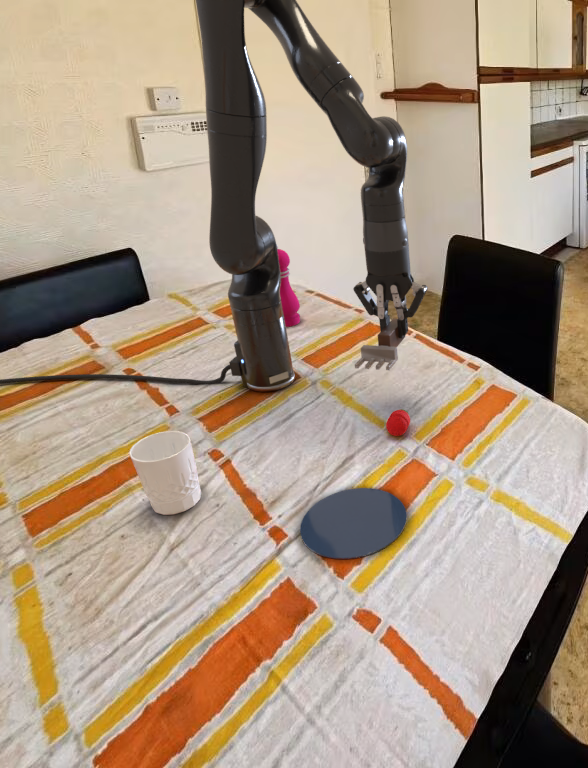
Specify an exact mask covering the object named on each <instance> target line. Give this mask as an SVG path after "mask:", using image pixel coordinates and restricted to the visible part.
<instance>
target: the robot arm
mask: <svg viewBox="0 0 588 768" xmlns="http://www.w3.org/2000/svg"><path fill="white" fill-rule="evenodd" d="M195 6H196V12H197V17H198V26H199V31H200V39H201V40H200V41H201V52H202V63H203V64H202V65H203V75H204V77H203V78H204V90H205V91H204V92H205V93H204V94H205V118H206V120H205V121H206V133H207V134H206V135H207V143H208V162H209V176H210V189H211V191H210V193H211V195H210V198H211V199H210V219H209V234H208V235H209V236H208V237H209V238H208V239H209V249H210V253H211V256H212V258H213V260H214V262H215V263H216V265H218V267H219V268H220V269H221V270H223V271H224V272H225V273H227V274H230V275H232V277H231V282H230V285H229V287H228V290H227V297H228V302H229V307H230V312H231V316H232V321H233V325H234V329H235V334H236V339H237V340H236V341H235V342H234V343H233V348H234V351H235V357H234V358H232V359H231V360H230V361H229V362H228V365H226V366H224V368H223V369H222V370H221V372H220V376H219V377H218V378H216V379H211V380H199V379H193V378H192V379H191V378H175V377H174V378H173V377H162V376H152V375H151V376H150V375H137V374H136V375H135V374H134V375H133V374H106V373H103V374H102V373H99V374H98V373H93V374H91V373H89V374H88V373H87V374H86V373H85V374H83V373H82V374H59V375H58V374H57V375H56V374H55V375H39V376H26V377H25V376H24V377H14V378H1V379H0V385H4V384H16V383H27V382H41V381H43V382H45V381H57V380H59V381H61V380H93V379H95V380H103V379H104V380H128V381H129V380H130V381H131V380H132V381H146V382H147V381H148V382H160V383H169V384H170V383H171V384H187V385H188V384H190V385H196V386H197V385H198V386H199V385H201V386H202V385H203V386H204V385H217V384H220V383H221V382H223V381H224V380H225V379H226V376H227V372H229V371H230V372H231V376H233V377H240V379H241V383H242V386H243V387H245V388H248V389H249V390H251V391H254V392H260V393H261V392H262V393H263V392H265V393H267V392H274V391H275V392H276V391H279V390H282V389H285V388H286V387H288V386H290V385H291V384H293V383H294V381H295V379H296V375H295V371H294V365H293V360H292V355H291V349H290V343H289V337H288V332H287V327H286V325H285V320H284V314H283V309H282V303H281V297H280V285H281V274H280V266H279V258H278V251H277V245H278V244H277V240H276V237H275V234H274V232H273V230H272V228H271V226H270V225H269V224H268V223H267V222H266V221H265V220H264V219H263V218H262V217H260V216H258V215H256V194H257V189H258V184H259V181H260V177H261V173H262V169H263V166H264V161H265V157H266V153H267V143H268V141H267V140H268V128H267V127H268V122H267V121H268V119H267V118H268V117H267V114H268V113H267V103H266V99H265V95H264V91H263V89H262V86H261V83H260V81H259V78H258V76H257V74H256V71H255V69H254V67H253V64H252V60H251V58H250V56H249V52H248V49H247V43H246V35H245V34H246V33H245V31H246V29H245V9H248V10H249V11H251V12H252V13H253V14H254V15H255V16H256V17H257V18H259V20H261V21H262V23H264V24H265V25H266V27H267V28H268V29H269V30H270V31H271V32H272V34H273V35H274V36H275V38H276V39H277V40H278V43H279V44H280V46H281V48H282V50H283V52H284V55H285V57H286V59H287V62H288V64H289V67H290V69H291V71H292V72H293V74H294V76H295V78H296V79H297V81H298V83H299V84H300V85H301V87H302V88H303V90H305V91H306V93H307V94H308V95H309V96H310V98H311V99H312V100H313V101H314V102H315V104H316V105H317V106H318V108H319V109H320V110H321V111H322V112H323V113H324V114H325V115H326V117H327V118H328V120H329V123H330V125H331V127H332V129H333V131H334V133H335V135H336V137H337V138H338V140H339V142H340V144H341V145H342V147H343V150H344V151H345V152H346V153H347V154H348V155H349V157H350V158H351V159H352V160H353V161H355V162H356V163H357V164H359V165H360V166H362V167H364V168H368V176H367V178H366V180H365V182H363V184H362V185H361V187H360V204H361V213H362V244H363V246H364V256H365V265H366V271H367V274H366V277H365V280H363V281H359V282H358V283H356V284H355V286H353V289H352V290H353V292H354V293H355V295H356V297H357V298H358V299H359V301H360V303H361V304H362V306H363V307H364V309H365V311H366V312H367V314H368V315H369V316H375V317H377V318H378V321H379V330H380V332H381V331H382V330H383V329H384V328H385V327H386V326H387V325H388V324H389V322H390V321H391V315H390V314H389V302H390V301H391V302H393V306H394V309H395V311H396V317H397V319H398V320H397V326H398V334H399V338H404V336H405V337H406V335H408V332H409V321H408V318H413V317H414V316H415V314H416V313H417V312H418V310H419V307H420V305H421V304H422V302H423V299H424V298H425V296H426V293H427V291H428V286H427V285H426V284H422V285H421V284H419V283H418V282H416V281H415V279H414V277H413V275H412V273H411V259H410V246H409V245H410V244H409V233H408V225H407V221H406V211H405V198H404V183H405V178H406V170H407V160H408V143H407V137H406V134H405V131H404V129H403V128H402V125H401V124H400V123H399V122H398V121H397V120H396V119H395V118H393V117H390V116H377V117H372V116H371V114H369V112H368V110H367V109H366V108H365V106H364V105H363V102H364V100H365V99H364V98H365V95H364V91H363V89H362V87H361V85H360V84H359V82H358V81H357V79H355V78H354V76H353V75H352V74H351V73H350V71H349V69H347V68H346V67H345V65H344V63H342V62H341V60H340V59H339V58H338V56H337V55H336V54H335V53H334V52H333V51H332V49H331V48H330V47H329V46H328V44H327V43H326V42H325V41H324V39H323V38H322V37H321V36H320V34H319V33H318V31H317V30H316V28H315V27H314V26H313V23H311V21H310V19H309V18H308V17H307V15H306V13H305V12H304V10H303V9H302V7H301V6H300V4H299V3H298V1H297V0H195ZM276 244H277V245H276ZM370 290H371V291H372V293H373V294H374V295H375V297H376V300H375V299H374V297H373V295H372V294H371V292H370ZM410 290H412V296H413V297H414V298H413V300H412V302H411V304H410V306H409V307H408V306H407V295H408V293H409V291H410ZM404 339H405V338H404Z"/></svg>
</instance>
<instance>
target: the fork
mask: <svg viewBox="0 0 588 768" xmlns="http://www.w3.org/2000/svg"><path fill="white" fill-rule="evenodd" d="M397 320H398V318H391V319H390V322H389V324H388V325H387V326H386V327H385V328H384V329H383V330H382V331H380V332H379V333H378V334H377V342H378V343H377V344H378V345H372V344H363V345H362V346H361V347H360V354H361V357H360V358H359V359H358V360H357V362H355V364H354V369H359V368H361V366H362V365H363V364H364V363H365V362H367V363H366V364H365V365H364V369H365V370H369V369H370V368H371V367H372V366H373V365H374V364H375V363H376V365H375V370H376V371H379V370H381V368H382V367H383V366H384V364H385V363H387V364H386V366H385V371H391V369H392V368H393V367H394V365H395V364H396V363H397V361H398V360H399V355H398V347H399V346H400V345H401V343H402V342H403V340H405V338H406V335H405V336H404V338H399V334H398V326H397Z"/></svg>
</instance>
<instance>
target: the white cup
mask: <svg viewBox="0 0 588 768" xmlns="http://www.w3.org/2000/svg"><path fill="white" fill-rule="evenodd" d="M129 457H130V460H131V462H132V465H133V467H134V469H135V472H136V474H137V477H138V479H139V482H140V484H141V487H142V489H143V491H144V493H145V495H146V497H147V499H148V500H149V501H148V502H149V503H150V506H151V508H152V509H153V511H154V512H155V513H156V514H160V515H163V516H167V515H177V514H180V513H183V512H185V511H188V510H189V509H191V508H193V507H194V506H196V505H197V504H198V502H199V501H200V500H201V496H202V490H201V485H200V481H199V479H200V477H199V473H198V468H197V463H196V458H195V453H194V449H193V444H192V440H191V437H190V435H189V434H188V433H186V432H184V431H181V430H180V431H179V430H165V431H160V432H156V433H153V434H149V435H147V436H145V437H143V438H141V439H139V440H138V441H136V442H135V443H134V444H133V445H132V446H131V447H130V449H129Z"/></svg>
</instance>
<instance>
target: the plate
mask: <svg viewBox="0 0 588 768" xmlns="http://www.w3.org/2000/svg"><path fill="white" fill-rule="evenodd" d="M407 518H408V514H407V510H406V507H405V505H404V504H403V502H402V501H401V500H400V499H399V498H398V497H397V496H396V495H394V494H392V493H391V492H388V491H386V490H382V489H378V488H372V487H357V488H356V487H355V488H350V489H344V490H340V491H338V492H334V493H331V494H330V495H327V496H325V497H324V498H321V499H320V500H318V501H317V502H316V503H315V504H313V505H312V506H311V507H310V508H309V509H308V510H307V512H305V515H304V516H303V518H302V520H301V523H300V525H299V533H300V537H301V541H302V542H303V544H304V545H305V546H306V548H307V549H308V550H310V551H311V552H313V553H314V554H317V555H318V556H321V557H325V558H328V559H334V560H352V559H353V560H354V559H359V558H364V557H367V556H370V555H373V554H375V553H376V554H377V553H378V552H380V551H382V550H384V549H385V548H387V547H389V546H390V545H391V544H392V543H394V542H395V541H396V540H397V539H398V538H399V537H400V536H401V534H402V533H403V531H404V530H405V528H406V524H407V520H408V519H407Z"/></svg>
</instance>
